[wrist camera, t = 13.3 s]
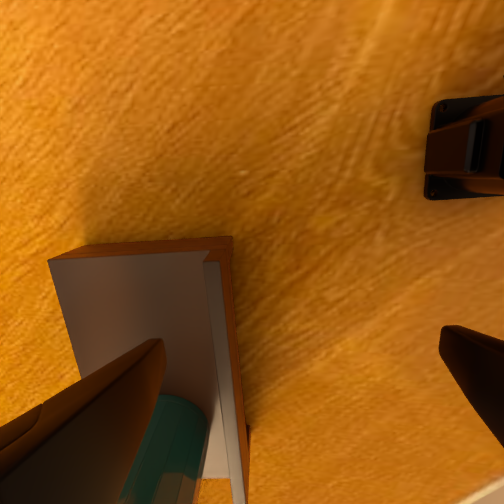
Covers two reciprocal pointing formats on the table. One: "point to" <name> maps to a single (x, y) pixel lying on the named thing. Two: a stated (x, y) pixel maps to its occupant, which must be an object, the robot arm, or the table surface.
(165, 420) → the glazed pot
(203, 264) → the desk shelf
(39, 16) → the table surface
